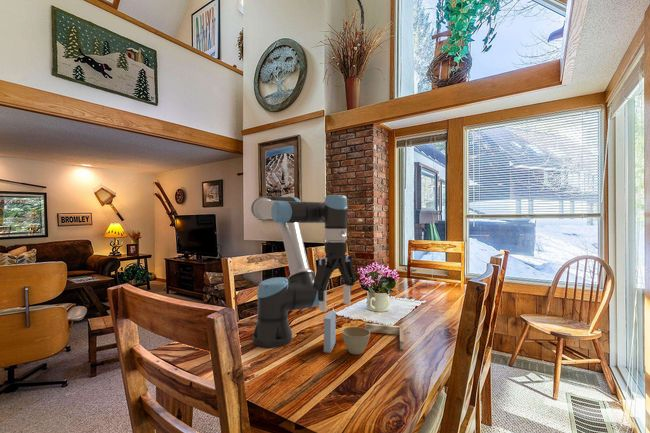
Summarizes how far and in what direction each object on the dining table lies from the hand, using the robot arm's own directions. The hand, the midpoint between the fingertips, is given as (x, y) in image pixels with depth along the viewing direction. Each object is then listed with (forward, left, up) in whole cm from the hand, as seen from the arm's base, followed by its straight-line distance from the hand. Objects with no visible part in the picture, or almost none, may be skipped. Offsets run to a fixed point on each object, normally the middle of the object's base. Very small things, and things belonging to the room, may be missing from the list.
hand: (335, 307), depth 99 cm
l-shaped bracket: (+15, +21, -18) cm, 32 cm away
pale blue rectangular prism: (-4, +9, -18) cm, 21 cm away
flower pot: (+6, +8, -18) cm, 21 cm away
